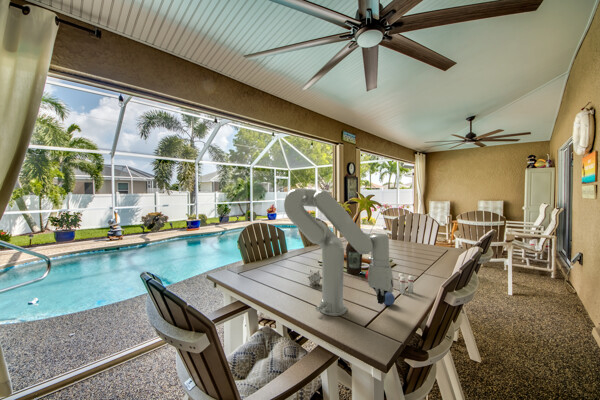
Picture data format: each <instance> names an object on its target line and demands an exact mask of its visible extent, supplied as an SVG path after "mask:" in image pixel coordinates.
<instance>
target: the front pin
mask: <svg viewBox="0 0 600 400" xmlns="http://www.w3.org/2000/svg"><path fill="white" fill-rule="evenodd" d="M399 294H400V295H405V294H406V277H405V276H404V277H400V290H399Z"/></svg>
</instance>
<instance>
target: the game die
mask: <svg viewBox="0 0 600 400" xmlns="http://www.w3.org/2000/svg"><path fill="white" fill-rule="evenodd" d="M307 279H308V280H309V284H310V286H312V285H318V286H320V282H321V281H322V275H321V274H320V270H317V271H316V270H315V271H313V270H311V269H310V273H309V274H308V276H307Z"/></svg>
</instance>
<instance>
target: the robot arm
mask: <svg viewBox="0 0 600 400" xmlns="http://www.w3.org/2000/svg"><path fill="white" fill-rule="evenodd" d="M283 207H284V212H285V214H286V216H287V218H288V220H289V221H290V222H291V223H292V224H293V225H294V226H295V227H296V228H297V229H298V230H299V231H300V232H301V233H302V235H304V237H305V238H307V241H308V242H310V243H312V244H314V245H318V246H319V247H320V248H321V263H322V264H321V277H322V278H321V284H322V285H321V300H320V303H319V304H318V305H317V306H316V307H315V311H316V312H321V313H322V314H324V315H326V316H332V317H338V316H342V315H344V314H345V313H346V312H347V310H348V309H347V305H346V304H345V303H344V266H345V264H344V263H345V249H344V244H343V242H342V241H341V239H340V238H339V237H338V235H337V234H335V232H333V231H332V230H331V229H330V227H328V226H327V225H326V224H325V223H324V222H322V221H320V220H316V218H314V217H313V215H312V214H311V213H309V211H308V210H307V209H306V208H305V207H313V208H316V209H317V210H318V211H319V212H320V214H322V215H323V216H324V217H325V219H327V220H328V222H330V223H331V224H332V226H333V227H334V228H335V230H336V231H338V233H340V235H342V236H343V238H344V239H345V241H346V242H348V243H350V244H351V246H352V247H353V248H354V249H355V250H356V251H357V252H358V253H360V254H362V255H368V254H370V257H368V261H370V263H369V265H368V270H367V271H368V281H367V285H368V286H369V288H371V289H373V290H374V292H375V294H376V300H377V304H379V305H383V304H384V302H385V294H386V293H392V294H393V293H394V289H393V288H394V275H393V270H392V267H391V265H390V246H389V245H390V242H389V241H390V240H389V239H390V237H389V236H388V234H385V233H379V232H378V233H366V232H364V231H363V230H362V229H361V228H360V227H359V225H357V223H356V222H355V221H354V219H353V218H352V216H351V215H350V214H349V213H348V211H346V210H345V208H344V207H343V206H342V205H341V204H340V203H339V202H338V201H337V200H336V199H335V198H334V197H333V196H332V195H331V193H330V192H329V191H328V190H325V189H311V188H302V187H301V188H299V187H297V188H296V187H295V188H292V189H290V190H289V191H288V192H287V194H286V195H285V198H284V203H283Z"/></svg>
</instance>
